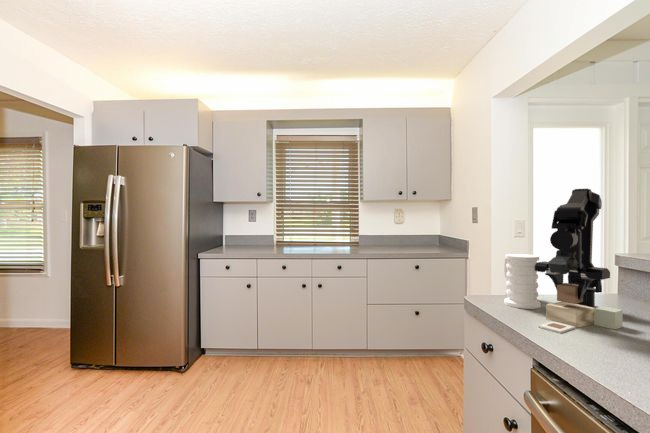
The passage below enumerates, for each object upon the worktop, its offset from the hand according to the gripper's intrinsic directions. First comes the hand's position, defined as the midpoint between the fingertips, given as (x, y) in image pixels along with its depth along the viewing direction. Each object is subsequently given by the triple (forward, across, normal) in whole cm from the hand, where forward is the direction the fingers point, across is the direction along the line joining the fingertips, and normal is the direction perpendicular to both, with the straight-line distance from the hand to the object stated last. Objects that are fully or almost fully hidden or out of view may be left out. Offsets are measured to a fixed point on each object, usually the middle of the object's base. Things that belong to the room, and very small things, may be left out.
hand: (570, 297), depth 109 cm
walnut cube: (+1, 0, 0) cm, 1 cm away
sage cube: (+7, +8, +5) cm, 12 cm away
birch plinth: (+8, 0, 0) cm, 8 cm away
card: (+7, +1, -10) cm, 12 cm away
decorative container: (+8, -19, +7) cm, 22 cm away
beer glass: (+8, -28, +17) cm, 34 cm away
